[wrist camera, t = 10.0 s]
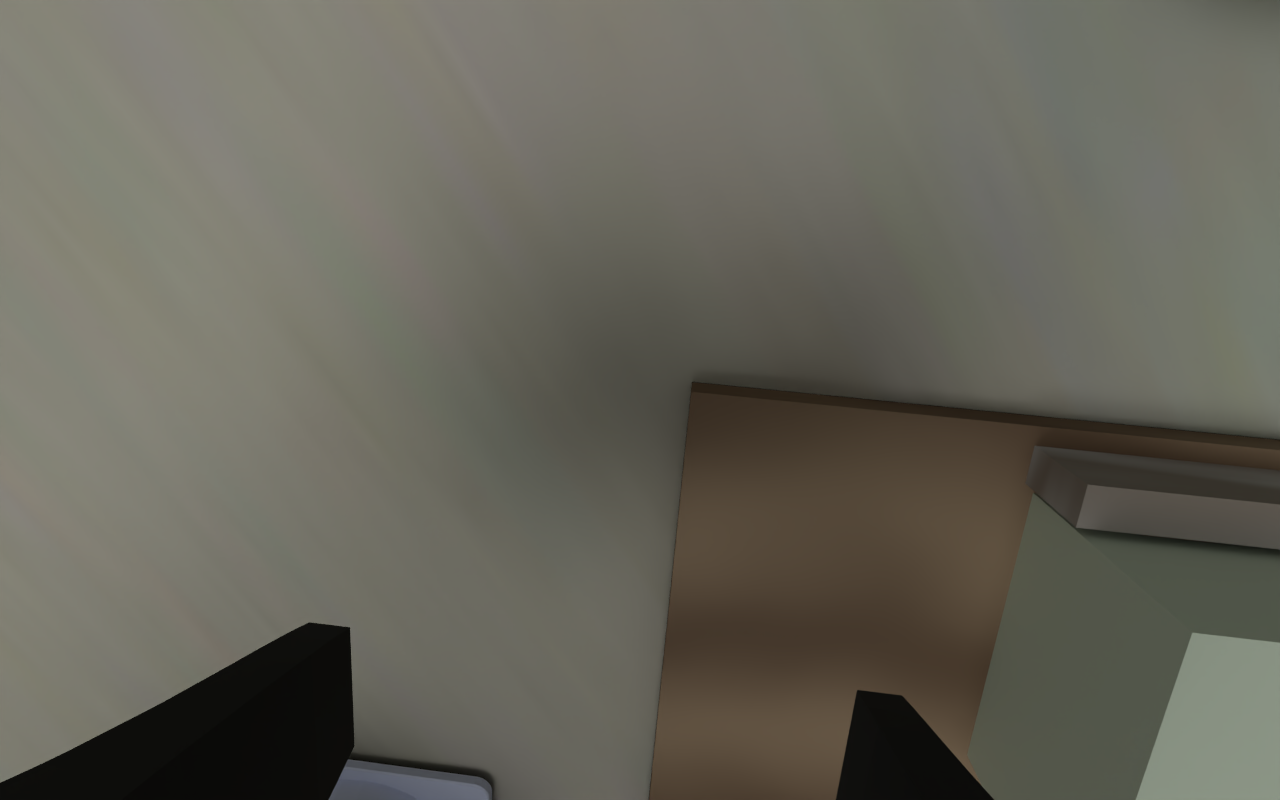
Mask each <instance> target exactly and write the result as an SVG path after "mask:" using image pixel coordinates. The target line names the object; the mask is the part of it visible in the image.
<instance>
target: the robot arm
mask: <svg viewBox="0 0 1280 800" xmlns="http://www.w3.org/2000/svg"><path fill="white" fill-rule="evenodd" d="M353 747H354V722H353V696H352V669H351V643H350V627H342V626H334V625H326V624H317V623H307V624H305V625H303V626H301V627H299V628H297V629H295V630H293V631H291V632H289V633H287V634H285V635H283V636H282V637H280V638H278V639H276V640H274V641H272V642H270V643H269V644H267V645H265V646H263V647H261V648H260V649H258V650H256V651H254V652H253V653H251V654H249V655H247V656H245V657H244V658H242V659H240V660H238V661H236V662H235V663H233V664H231V665H229V666H228V667H226V668H224V669H222V670H220V671H219V672H217V673H215V674H213V675H211V676H210V677H208V678H206V679H204V680H202V681H201V682H199V683H197V684H195V685H193V686H192V687H190V688H188V689H186V690H184V691H183V692H181V693H179V694H177V695H175V696H174V697H172V698H170V699H168V700H166V701H165V702H163V703H161V704H159V705H157V706H155V707H153V708H151V709H149V710H147V711H145V712H144V713H142V714H140V715H138V716H136V717H134V718H132V719H130V720H128V721H126V722H124V723H122V724H120V725H118V726H116V727H114V728H112V729H110V730H108V731H107V732H105V733H103V734H101V735H99V736H97V737H95V738H93V739H91V740H89V741H87V742H85V743H83V744H81V745H79V746H77V747H75V748H73V749H71V750H70V751H68V752H66V753H63V754H61V755H59V756H57V757H55V758H53V759H51V760H49V761H47V762H45V763H43V764H40V765H38V766H36V767H34V768H32V769H30V770H28V771H25V772H23V773H21V774H19V775H17V776H15V777H12V778H10V779H8V780H6V781H3V782H1V783H0V800H492V788H491V786H490V784H489V783H488V782H487V781H486V780H485V779H483V778H480V777H476V776H468V775H461V774H454V773H446V772H439V771H431V770H424V769H416V768H409V767H402V766H394V765H387V764H379V763H372V762H364V761H357V760H350V759H348V758H349V756H350V754H351V752H352V750H353ZM836 800H994V799H993V798H992V797H991V796H990V794H989V793H988V792H987V791H986V790H985V789H984V788H983V787H982V786H981V784H980V783H979V782H978V781H977V780H976V779H975V778H974V777H973V775H972V774H971V773H970V772H969V771H968V770H967V769H966V768H965V766H964V765H963V764H962V763H961V762H960V761H959V760H958V758H957V757H956V756H955V755H954V754H953V753H952V752H951V750H950V749H949V748H948V747H947V746H946V745H945V744H944V742H943V741H942V740H941V739H940V738H939V737H938V735H937V734H936V733H935V732H934V731H933V730H932V729H931V727H930V726H929V725H928V724H927V723H926V722H925V720H924V719H923V718H922V717H921V716H920V715H919V714H918V712H917V711H916V710H915V709H914V708H913V707H912V706H911V704H910V703H909V702H908V701H907V700H906V699H905V698H904V697H903V696H902V695H895V694H887V693H879V692H871V691H862V690H857V693H856V698H855V703H854V708H853V713H852V719H851V724H850V729H849V734H848V739H847V744H846V750H845V755H844V760H843V765H842V770H841V775H840V781H839V786H838V791H837V796H836Z"/></svg>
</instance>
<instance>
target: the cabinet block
mask: <svg viewBox="0 0 1280 800" xmlns="http://www.w3.org/2000/svg"><path fill="white" fill-rule="evenodd" d="M967 756H968V758H969V760H970V762H971V764H972V766H973V769H974V771H975V773H976V775H977V777H978V779H979V781H980V783H981V785H982V787H983V788H984V789H985V790H986V791H987V792H988V793H989V794H990V796H991V797H992V798H993V799H994V800H1280V549H1271V548H1261V547H1252V546H1243V545H1233V544H1224V543H1215V542H1214V543H1207V542H1198V541H1189V540H1179V539H1170V538H1161V537H1152V536H1142V535H1140V534H1131V533H1122V532H1112V531H1103V530H1094V529H1084V528H1076V527H1075V526H1074V525H1072V524H1071V523H1070V522H1069V521H1068V520H1067V519H1066V518H1064V517H1063V516H1062V515H1061V514H1060V513H1059V512H1058V511H1056V510H1055V509H1054V508H1053V507H1052V506H1051V505H1050V504H1048V503H1047V502H1046V501H1045V500H1044V499H1043V498H1041V497H1040V496H1039V495H1038V494H1037V493H1033V495H1032V499H1031V503H1030V507H1029V511H1028V515H1027V519H1026V523H1025V527H1024V531H1023V535H1022V539H1021V543H1020V547H1019V551H1018V555H1017V559H1016V563H1015V567H1014V571H1013V575H1012V579H1011V583H1010V587H1009V591H1008V595H1007V599H1006V603H1005V607H1004V611H1003V615H1002V619H1001V622H1000V626H999V630H998V634H997V638H996V642H995V646H994V650H993V654H992V658H991V662H990V666H989V670H988V674H987V678H986V682H985V686H984V690H983V694H982V698H981V702H980V706H979V710H978V714H977V718H976V722H975V726H974V730H973V734H972V738H971V742H970V746H969V749H968V753H967Z"/></svg>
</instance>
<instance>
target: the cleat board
mask: <svg viewBox="0 0 1280 800" xmlns="http://www.w3.org/2000/svg"><path fill="white" fill-rule="evenodd" d="M1033 493H1037V494H1038V495H1039V496H1040V497H1041V498H1043V499H1044V500H1045V501H1046V502H1047V503H1048V504H1050V505H1051V506H1052V507H1053V508H1054V509H1055V510H1056V511H1058V512H1059V513H1060V514H1061V515H1062V516H1063V517H1064V518H1066V519H1067V520H1068V521H1069V522H1070V523H1071V524H1072V525H1074V526H1075V527H1076V528H1084V529H1094V530H1103V531H1112V532H1122V533H1131V534H1140V535H1142V536H1152V537H1161V538H1170V539H1179V540H1189V541H1198V542H1207V543H1214V542H1215V543H1224V544H1233V545H1243V546H1252V547H1261V548H1271V549H1280V440H1274V439H1264V438H1254V437H1244V436H1234V435H1223V434H1213V433H1203V432H1193V431H1183V430H1173V429H1162V428H1152V427H1142V426H1132V425H1122V424H1112V423H1102V422H1091V421H1081V420H1071V419H1061V418H1051V417H1041V416H1030V415H1020V414H1010V413H1000V412H990V411H980V410H970V409H959V408H949V407H939V406H929V405H919V404H909V403H898V402H888V401H878V400H868V399H858V398H848V397H838V396H827V395H817V394H807V393H797V392H787V391H777V390H766V389H756V388H746V387H736V386H726V385H716V384H706V383H695V382H692V388H691V397H690V407H689V417H688V426H687V436H686V446H685V455H684V465H683V475H682V484H681V494H680V504H679V513H678V523H677V533H676V542H675V552H674V562H673V571H672V581H671V591H670V600H669V610H668V620H667V629H666V639H665V649H664V658H663V668H662V678H661V687H660V697H659V707H658V716H657V726H656V736H655V745H654V755H653V765H652V774H651V784H650V794H649V800H836V796H837V791H838V786H839V781H840V775H841V770H842V765H843V760H844V755H845V750H846V744H847V739H848V734H849V729H850V724H851V719H852V713H853V708H854V703H855V698H856V693H857V690H862V691H871V692H879V693H887V694H895V695H902V696H903V697H904V698H905V699H906V700H907V701H908V702H909V703H910V704H911V706H912V707H913V708H914V709H915V710H916V711H917V712H918V714H919V715H920V716H921V717H922V718H923V719H924V720H925V722H926V723H927V724H928V725H929V726H930V727H931V729H932V730H933V731H934V732H935V733H936V734H937V735H938V737H939V738H940V739H941V740H942V741H943V742H944V744H945V745H946V746H947V747H948V748H949V749H950V750H951V752H952V753H953V754H954V755H955V756H956V757H957V758H958V760H959V761H960V762H961V763H962V764H963V765H964V766H965V768H966V769H967V770H968V771H969V772H970V773H971V774H972V775H973V777H974V778H975V779H976V780H977V781H978V782H979V783H980V781H979V779H978V777H977V775H976V773H975V771H974V769H973V766H972V764H971V762H970V760H969V758H968V756H967V753H968V749H969V746H970V742H971V738H972V734H973V730H974V726H975V722H976V718H977V714H978V710H979V706H980V702H981V698H982V694H983V690H984V686H985V682H986V678H987V674H988V670H989V666H990V662H991V658H992V654H993V650H994V646H995V642H996V638H997V634H998V630H999V626H1000V622H1001V619H1002V615H1003V611H1004V607H1005V603H1006V599H1007V595H1008V591H1009V587H1010V583H1011V579H1012V575H1013V571H1014V567H1015V563H1016V559H1017V555H1018V551H1019V547H1020V543H1021V539H1022V535H1023V531H1024V527H1025V523H1026V519H1027V515H1028V511H1029V507H1030V503H1031V499H1032V495H1033ZM980 784H981V783H980ZM981 786H982V785H981Z"/></svg>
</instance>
